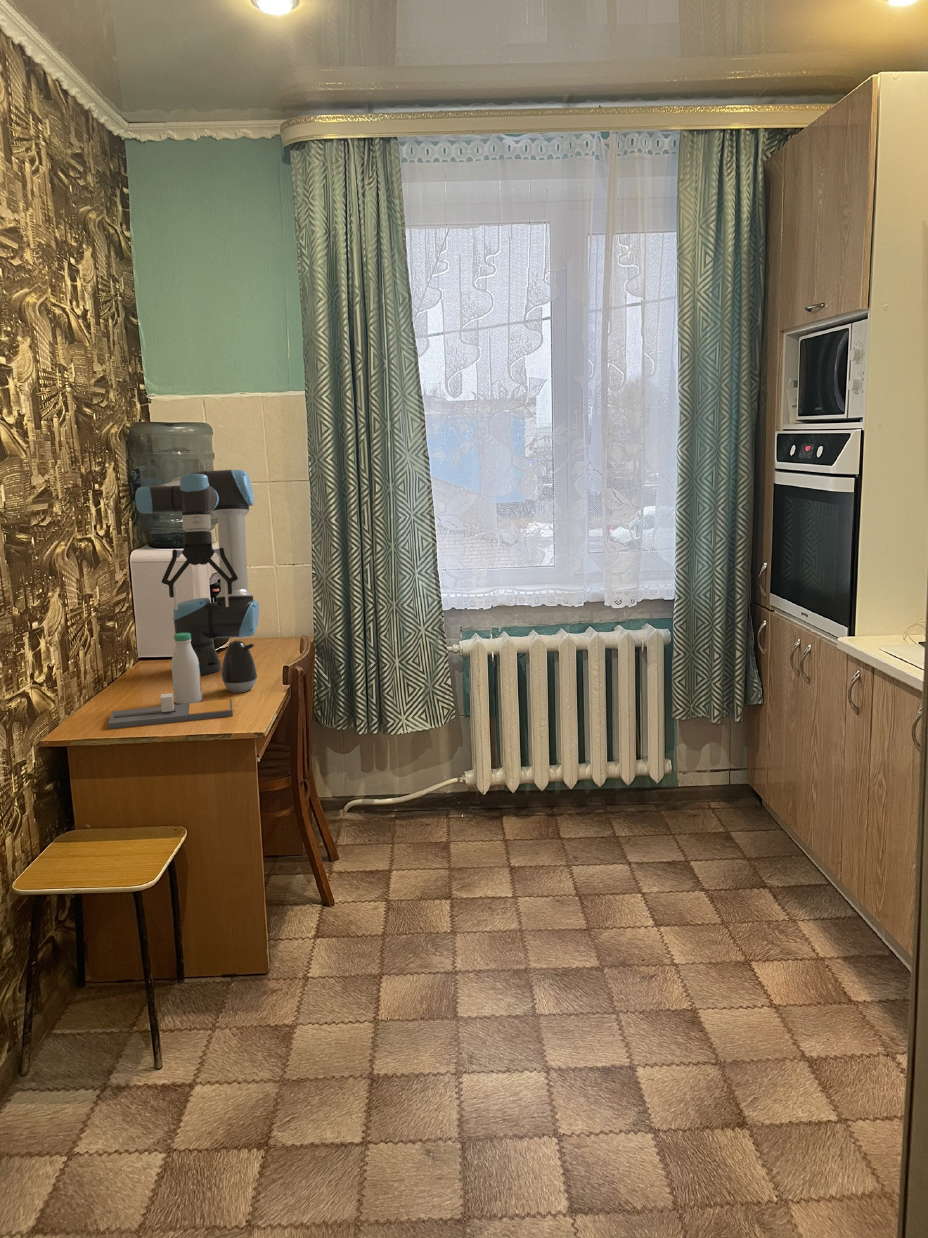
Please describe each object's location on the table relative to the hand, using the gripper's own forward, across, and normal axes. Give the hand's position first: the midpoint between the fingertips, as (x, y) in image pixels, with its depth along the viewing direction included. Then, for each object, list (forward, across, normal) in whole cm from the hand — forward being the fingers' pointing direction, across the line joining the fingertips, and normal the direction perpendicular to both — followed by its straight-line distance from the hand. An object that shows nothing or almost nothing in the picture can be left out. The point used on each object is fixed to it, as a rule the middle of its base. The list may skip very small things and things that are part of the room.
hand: (201, 608), depth 268 cm
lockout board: (+29, -10, -1) cm, 31 cm away
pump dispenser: (+26, +10, +19) cm, 34 cm away
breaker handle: (+27, -11, -2) cm, 29 cm away
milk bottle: (+27, -5, +12) cm, 31 cm away
